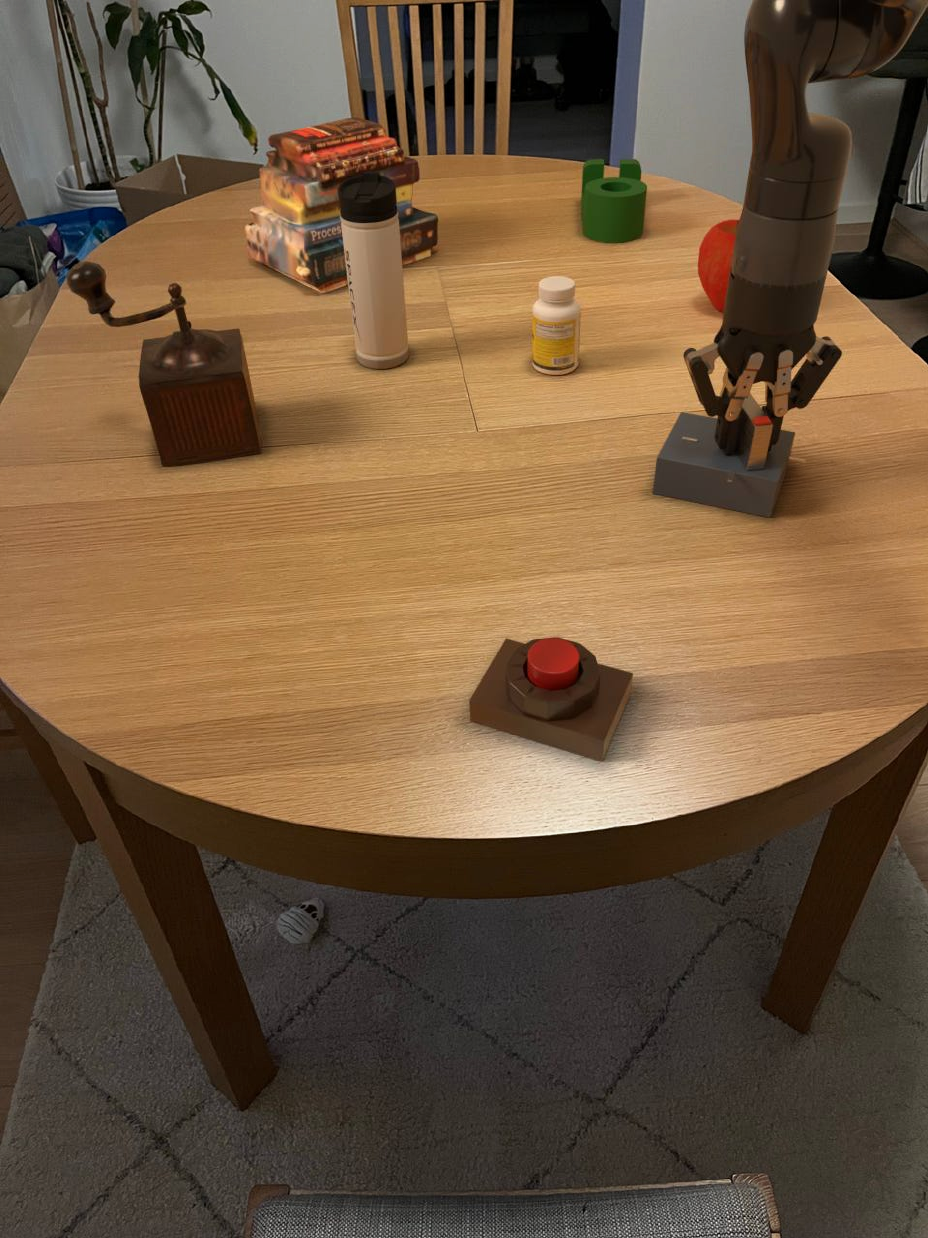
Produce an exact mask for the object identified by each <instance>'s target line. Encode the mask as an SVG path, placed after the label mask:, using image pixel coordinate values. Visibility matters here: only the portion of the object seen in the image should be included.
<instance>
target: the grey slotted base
mask: <svg viewBox="0 0 928 1238" xmlns="http://www.w3.org/2000/svg"><path fill="white" fill-rule="evenodd" d="M717 418H718V417H710V416H708V415H707V416H706V415H700V414H697V413H696V414H694V413H689V412H685V411H681V412H680V413H679V415H678V417H677V419H676V421H675V422H674V424H673V426H672V429H671V430H670V432H669V434H668V436H667V438H666V440H665V441H664V443H663V445H662V446H661V449H660V451H659V453H658V454H657V457H656V462H655V472H654V479H653V486H652V494H655V495H659V496H663V497H668V498H673V499H676V500H677V499H678V500H682V501H687V502H692V503H697V504H702V505H707V506H712V507H717V508H721V509H725V510H731V511H736V512H740V513H746V514H750V515H756V516H760V517H765V518H770V519H771V517H772V515H773V512H774V509H775V505H776V503H777V500H778V496H779V494H780V490H781V487H782V485H783V482H784V479H785V477H786V473H787V470H788V466H789V462H790V461H793V462H797V463H804V464H805V462H806V459H805V458H800V457H795V456H791V454H792V449H793V445H794V441H795V435H796V432H795V431H792V430H791V431H790V430H785V429H781V430H780V436H779V440H778V442H777V443H776V445H772V448H771V451H768V452H767V456H766V461H765V466H764V469H758V470H746V468H745V467H744V465H743V463H742V462H741V460H740V459H739V457H738V455H737V454H736V452H735V451H734V454H733V455H724V453H723V451H722V450H720V448H719V447H718V445H717V443H716V441H715V438H714V436H715V430H716V424H717Z"/></svg>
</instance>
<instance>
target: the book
mask: <svg viewBox="0 0 928 1238" xmlns="http://www.w3.org/2000/svg"><path fill="white" fill-rule="evenodd" d="M267 141H268V145H269V147H271V148H274V150H269V151H267V152H265V156H266V157H267V159H268V160H267V163H266V165H264V166H261V167H260V168H259V171H258V173H259V180H260V187H261V191H260V200H261V205H259V206H255V207H251V208H250V209H249V211H250V214H251V215H252V216H253V222H251V223H248V224H246V225H245V226H244V233H245V239H246V240H245V241H246V251H247V255H248V257H249V258H251V259H252V260H255V261H257V262H260V263H261V264H263V265H265V266H267V267H269V268H271V269H273V270H275V271H277V272H279V273H280V274H282V275H284V276H286V277H288V278H290V279H292V280H294V281H296V282H298V283H300V284H302V285H303V286H305V287H307V288H310V289H313V290H314V291H316V292H318V293H321V294H326V293H329V292H332V291H335V290H337V289H340V288H343V287H346V286H348V279H347V270H346V262H345V253H344V244H343V236H342V227H341V219H340V205H339V197H338V187H339V186H340V184H341V183H342V182H344V181H345V180H347V179H350V178H352V177H356V176H361V175H363V172H379V174H380V175H382V176H386V177H388V178H390V179H392V180H393V181H394V182H395V185H396V198H397V203H396V205H397V210H398V219H399V230H400V243H401V256H402V267H403V266H405V265H408V264H411V263H414V262H417V261H419V260H422V259H426V258H428V257H431V256H432V249H433V248H434V247H436V246H437V245H438V243H439V236H438V232H439V231H438V228H439V226H438V225H439V216H438V215H437V214H436V213H432V212H428V211H425V210H421V209H419V208H416V207H414V206H413V203H412V202H413V201H412V200H413V194H414V187H413V186H414V184H415V183H418V182H419V181H420V179H421V177H420V176H421V175H420V166H419V162H418V161H417V159H415V158H413V157H409V156H405V152H404V149H403V148H402V147H399V146H398V144H397V141H396V139H395V138H394V137H389V135H388V134H387V132H386V128H385V126H383V125H382V124H380V123H377V122H374V121H372V120H368V119H364V118H361V117H354V116H353V117H348V118H342V119H338V120H334V121H330V122H329V121H328V122H324V123H320V124H316V125H312V126H308V127H302V128H298V129H293V130H289V131H283V132H280V133H274V134H270V136H268V139H267Z"/></svg>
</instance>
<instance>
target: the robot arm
mask: <svg viewBox="0 0 928 1238" xmlns="http://www.w3.org/2000/svg"><path fill="white" fill-rule="evenodd" d="M927 8H928V0H752V1H751V3H750V7H749V8H748V12H747V16H746V20H745V25H744V37H743V43H744V44H743V45H744V58H745V66H746V67H745V68H746V74H747V75H746V76H747V85H748V93H749V94H748V95H749V108H750V110H749V111H750V122H751V123H750V124H751V125H750V126H751V157H750V161H749V168H748V174H747V181H746V186H745V193H744V200H743V204H742V209H741V213H740V217H739V219H738V220H739V223H738V227H737V230H736V235H735V241H734V247H733V254H732V260H731V267H730V273H729V279H728V286H727V292H726V299H725V305H724V312H722V323H721V326H720V328H719V330H718V331H717V333H716V334H715V336H714V338H713V342H712V343H710V344H708V345H705V346H704V347H702V348H700V349H698V350H697V349H696V348H695V347H689V348H686V349H685V350H684V352H683V360H684V362H685V365H686V368H687V371H688V373H689V377H690V379H691V382H692V385H693V387H694V391H695V393H696V396H697V399H698V401H699V404H701V406H702V407H703V408H704V411H705V413H706V415H707V417H712V418H715V417H716V418H717V424H716V430H715V436H714V438H715V441H716V443H717V445H718V447H719V448H720V450H722V451H723V453H724V455H733V454H734V450H735V444H736V439H737V433H738V428H739V422H740V421H739V419H738V416H739V413H740V410H741V407H742V405H743V402H744V399H747V398H748V396H749V393H751V390H752V387H753V385H755V384H758V383H762V382H763V383H764V395H765V396H764V402H765V404H766V405H762V406H761V409H762V410H763V412H764V413H765V415H766V416H768V418H769V419H770V420H771V423H772V424H773V428H772V433H771V438H770V442H769V447H768V451H771V448H772V445H776V443H777V442H778V440H779V436H780V430H782V426H783V422H784V417H785V415H786V414H787V413H788V412H789V411H791V410H793V409H798V410H802V409H805V408H806V407H807V406H808V405H809V404H810V402H811V401H812V399H813V398H814V397H815V395H816V394H817V392H818V391H819V389H820V387H821V386H822V385H823V383H824V382H825V380H826V379H827V378H828V376H829V375H830V374H831V372H832V371H833V369H834V368H835V366H836V365H837V363H839V360H840V359H841V357H842V355H843V351H842V350H841V349H840V347H839V346H838V345H837V344H836V343H835V342H834V341H833V340H832V338H830V336H827V335H825V336H822V337H818V336H817V333H816V331H815V323H817V320H818V315H819V310H820V306H821V302H822V299H823V298H822V297H823V294H824V289H825V285H826V280H827V275H828V271H829V266H830V263H831V261H832V259H833V249H834V245H835V239H836V233H837V220H838V213H839V207H840V203H841V200H842V199H841V198H842V194H843V189H844V185H845V181H846V176H847V171H848V166H849V163H850V158H851V153H852V146H853V137H852V136H853V135H852V131H851V129H850V127H849V125H848V124H846V123H845V122H844V120H841V119H839V118H836V117H833V116H830V115H827V114H821V113H816V112H809V110H808V105H807V99H806V98H807V96H806V95H807V86H808V84H814V83H815V84H816V83H826V82H834V81H842V80H852V79H858V78H861V77H864V76H867V75H869V74H871V73H873V72H875V71H878V69H880V68H882V67H883V66H885V65H886V64H887V63H889V62H890V61H891V60H893V58H895V57H896V56H897V55H898V54H899V52H901V50H902V49H903V48H904V46H905V44H906V43H907V41H908V40H909V38H910V36H911V35H912V33H913V32H914V30H915V28H916V26H917V25H918V23H919V21H920V19H921V17H922V16H923V15H924V13H925V12H926V9H927ZM719 357H720V359H721V361H722V362H723V364H724V365H725V367H726V368H725V370H724V373H723V376H722V387H721V390H720V393H719V395H717V394H716V392H715V389H714V387H713V383H712V380H711V377H710V375H712V374H713V373H714V370H715V367H716V366H715V362H716V360H717V359H718V358H719ZM804 357H806V359H805V360H804V361H803V363H802V364H801V366H800V367H799V368H798V370H797V372H796V373H795V375H794V376H793V377H792V370H793V369H794V368H795V367H796V366H797V365H798V364H799V363H800V362H801V360H802V359H804Z"/></svg>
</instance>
